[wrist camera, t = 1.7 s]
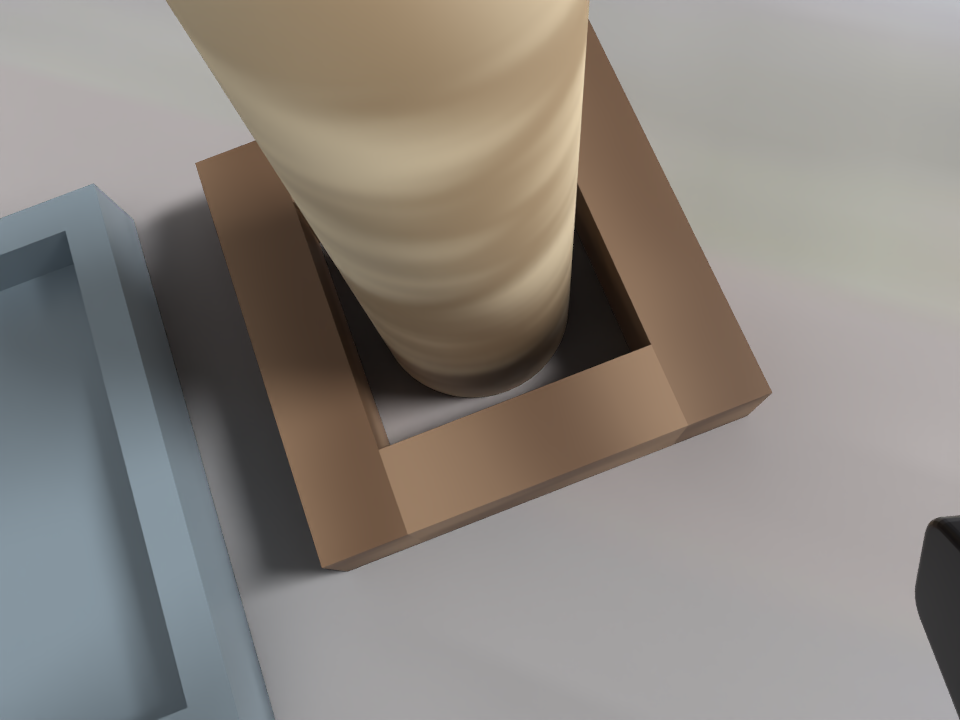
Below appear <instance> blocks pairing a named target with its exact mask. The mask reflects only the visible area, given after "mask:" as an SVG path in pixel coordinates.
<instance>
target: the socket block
mask: <svg viewBox="0 0 960 720" xmlns="http://www.w3.org/2000/svg"><path fill="white" fill-rule="evenodd" d="M195 164H196V167H197V170H198V174H199V177H200V180H201V183H202V186H203V190H204V193H205V196H206V199H207V202H208V206H209V209H210V212H211V215H212V218H213V222H214V225H215V228H216V231H217V234H218V238H219V241H220V244H221V247H222V250H223V254H224V257H225V260H226V263H227V266H228V270H229V273H230V276H231V279H232V282H233V285H234V289H235V292H236V295H237V298H238V301H239V305H240V308H241V311H242V314H243V317H244V321H245V324H246V327H247V330H248V333H249V337H250V340H251V343H252V346H253V349H254V353H255V356H256V359H257V362H258V365H259V369H260V372H261V375H262V378H263V381H264V385H265V388H266V391H267V394H268V397H269V400H270V404H271V407H272V410H273V413H274V416H275V420H276V423H277V426H278V429H279V432H280V436H281V439H282V442H283V445H284V448H285V452H286V455H287V458H288V461H289V464H290V468H291V471H292V474H293V477H294V480H295V484H296V487H297V490H298V493H299V496H300V500H301V503H302V506H303V509H304V512H305V516H306V519H307V522H308V525H309V528H310V531H311V535H312V538H313V541H314V544H315V547H316V551H317V554H318V557H319V560H320V563H321V567H322V568H325V569H333V570H340V571H350V570H353V569H355V568H358V567H361V566H363V565H366V564H368V563H371V562H373V561H376V560H379V559H381V558H384V557H386V556H389V555H391V554H394V553H396V552H399V551H402V550H404V549H407V548H409V547H412V546H414V545H417V544H420V543H422V542H425V541H427V540H430V539H432V538H435V537H438V536H440V535H443V534H445V533H448V532H450V531H453V530H455V529H458V528H461V527H463V526H466V525H468V524H471V523H473V522H476V521H479V520H481V519H484V518H486V517H489V516H491V515H494V514H497V513H499V512H502V511H504V510H507V509H509V508H512V507H514V506H517V505H520V504H522V503H525V502H527V501H530V500H532V499H535V498H538V497H540V496H543V495H545V494H548V493H550V492H553V491H556V490H558V489H561V488H563V487H566V486H568V485H571V484H573V483H576V482H579V481H581V480H584V479H586V478H589V477H591V476H594V475H597V474H599V473H602V472H604V471H607V470H609V469H612V468H615V467H617V466H620V465H622V464H625V463H627V462H630V461H632V460H635V459H638V458H640V457H643V456H645V455H648V454H650V453H653V452H656V451H658V450H661V449H663V448H666V447H668V446H671V445H673V444H676V443H679V442H681V441H684V440H686V439H689V438H691V437H694V436H697V435H699V434H702V433H704V432H707V431H709V430H712V429H715V428H717V427H720V426H722V425H725V424H727V423H730V422H732V421H735V420H738V419H740V418H743V417H745V416H747V415H749V414H750V413H751V412H752V411H753V410H754V409H755V408H756V407H757V406H758V405H759V404H761V403H762V402H763V401H764V400H765V399H766V398H767V397H768V396H769V395H770V394H771V393H772V391H771V389H770V387H769V385H768V383H767V381H766V379H765V377H764V375H763V373H762V371H761V369H760V367H759V365H758V363H757V361H756V359H755V357H754V355H753V353H752V351H751V349H750V346H749V344H748V342H747V340H746V338H745V336H744V334H743V332H742V330H741V328H740V326H739V324H738V322H737V320H736V318H735V316H734V314H733V312H732V310H731V308H730V306H729V304H728V302H727V300H726V298H725V296H724V294H723V292H722V290H721V288H720V286H719V283H718V281H717V279H716V277H715V275H714V273H713V271H712V269H711V267H710V265H709V263H708V261H707V259H706V257H705V255H704V253H703V251H702V249H701V247H700V245H699V243H698V241H697V239H696V237H695V235H694V233H693V231H692V229H691V227H690V225H689V223H688V220H687V218H686V216H685V214H684V212H683V210H682V208H681V206H680V204H679V202H678V200H677V198H676V196H675V194H674V192H673V190H672V188H671V186H670V184H669V182H668V180H667V178H666V176H665V174H664V172H663V170H662V168H661V166H660V164H659V162H658V160H657V157H656V155H655V153H654V151H653V149H652V147H651V145H650V143H649V141H648V139H647V137H646V135H645V133H644V131H643V129H642V127H641V125H640V123H639V121H638V119H637V117H636V115H635V113H634V111H633V109H632V107H631V105H630V103H629V101H628V99H627V97H626V94H625V92H624V90H623V88H622V86H621V84H620V82H619V80H618V78H617V76H616V74H615V72H614V70H613V68H612V66H611V64H610V62H609V60H608V58H607V56H606V54H605V52H604V50H603V48H602V46H601V44H600V42H599V40H598V38H597V36H596V34H595V32H594V29H593V27H592V25H591V23H590V21H589V19H588V28H587V43H586V58H585V73H584V87H583V102H582V117H581V132H580V147H579V162H578V177H577V192H576V207H575V222H574V226H575V228H576V231H577V233H578V235H579V237H580V240H581V242H582V244H583V246H584V248H585V251H586V253H587V255H588V257H589V260H590V262H591V264H592V266H593V269H594V271H595V273H596V275H597V277H598V280H599V282H600V284H601V286H602V289H603V291H604V293H605V295H606V298H607V300H608V302H609V304H610V306H611V309H612V311H613V313H614V315H615V318H616V320H617V322H618V324H619V326H620V329H621V331H622V333H623V335H624V338H625V340H626V342H627V344H628V347H629V349H630V351H631V353H628V354H626V355H623V356H620V357H618V358H615V359H613V360H610V361H607V362H605V363H602V364H600V365H597V366H595V367H592V368H589V369H587V370H584V371H582V372H579V373H576V374H574V375H571V376H569V377H566V378H563V379H561V380H558V381H556V382H553V383H551V384H548V385H545V386H543V387H540V388H538V389H535V390H532V391H530V392H527V393H525V394H522V395H520V396H517V397H514V398H512V399H509V400H507V401H504V402H501V403H499V404H496V405H494V406H491V407H488V408H486V409H483V410H481V411H478V412H476V413H473V414H470V415H468V416H465V417H463V418H460V419H457V420H455V421H452V422H450V423H447V424H444V425H442V426H439V427H437V428H434V429H432V430H429V431H426V432H424V433H421V434H419V435H416V436H413V437H411V438H408V439H406V440H403V441H401V442H398V443H395V444H393V445H390V444H389V441H388V438H387V435H386V432H385V429H384V426H383V424H382V421H381V418H380V415H379V412H378V409H377V406H376V404H375V401H374V398H373V395H372V392H371V389H370V386H369V384H368V381H367V378H366V375H365V372H364V369H363V366H362V364H361V361H360V358H359V355H358V352H357V349H356V346H355V344H354V341H353V338H352V335H351V332H350V329H349V326H348V324H347V321H346V318H345V315H344V312H343V309H342V306H341V304H340V301H339V298H338V295H337V292H336V289H335V286H334V284H333V281H332V278H331V275H330V272H329V269H328V266H327V264H326V261H325V258H324V255H323V252H322V249H321V246H320V244H319V242H320V240H319V239H318V237H317V236H316V234H315V232H314V231H313V229H312V228H311V226H310V225H309V223H308V221H307V220H306V218H305V217H304V215H303V214H302V212H301V211H300V209H299V207H298V206H297V204H296V203H295V201H294V200H293V198H292V197H291V195H290V193H289V192H288V190H287V189H286V187H285V186H284V184H283V182H282V181H281V179H280V178H279V176H278V175H277V173H276V172H275V170H274V168H273V167H272V165H271V164H270V162H269V161H268V159H267V158H266V156H265V154H264V153H263V151H262V150H261V148H260V147H259V145H258V143H257V142H256V141H253V142H250V143H248V144H245V145H242V146H240V147H237V148H234V149H232V150H229V151H226V152H224V153H221V154H218V155H216V156H213V157H210V158H208V159H205V160H202V161H200V162H197V163H195Z"/></svg>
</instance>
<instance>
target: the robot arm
mask: <svg viewBox="0 0 960 720" xmlns="http://www.w3.org/2000/svg"><path fill="white" fill-rule="evenodd" d="M915 600H916V606H917V610H918V614H919V617H920V620H921V622H922V625H923V627H924V630H925V632H926V635H927V638H928V640H929V643H930V645H931V648H932V650H933V653H934V655H935V658H936V661H937V663H938V666H939V668H940V671H941V673H942V676H943V678H944V681H945V683H946V686H947V689H948V691H949V694H950V696H951V699H952V701H953V704H954V706H955V709H956V712H957V714H958V717H959V719H960V515H959V516H947V517H938V518H936V519H934V520H932V521H931V522H930V523H929V525H928V526H927V528H926V532H925V536H924V541H923V547H922V552H921V557H920V563H919V568H918V574H917V579H916V585H915Z"/></svg>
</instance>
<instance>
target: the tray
mask: <svg viewBox="0 0 960 720" xmlns="http://www.w3.org/2000/svg"><path fill="white" fill-rule="evenodd" d="M0 720H275V718H274V714H273V711H272V707H271V704H270V700H269V697H268V693H267V689H266V686H265V682H264V679H263V675H262V672H261V668H260V665H259V661H258V658H257V654H256V651H255V647H254V644H253V640H252V636H251V633H250V629H249V626H248V622H247V619H246V615H245V612H244V608H243V605H242V601H241V598H240V594H239V591H238V587H237V583H236V580H235V576H234V573H233V569H232V566H231V562H230V559H229V555H228V552H227V548H226V545H225V541H224V538H223V534H222V530H221V527H220V523H219V520H218V516H217V513H216V509H215V506H214V502H213V499H212V495H211V492H210V488H209V485H208V481H207V477H206V474H205V470H204V467H203V463H202V460H201V456H200V453H199V449H198V446H197V442H196V439H195V435H194V432H193V428H192V424H191V421H190V417H189V414H188V410H187V407H186V403H185V400H184V396H183V393H182V389H181V386H180V382H179V379H178V375H177V371H176V368H175V364H174V361H173V357H172V354H171V350H170V347H169V343H168V340H167V336H166V333H165V329H164V326H163V322H162V318H161V315H160V311H159V308H158V304H157V301H156V297H155V294H154V290H153V287H152V283H151V280H150V276H149V273H148V269H147V265H146V262H145V258H144V255H143V251H142V248H141V244H140V241H139V237H138V234H137V230H136V227H135V223H134V220H133V219H132V218H131V217H130V216H129V215H128V214H127V213H126V212H125V211H123V210H122V209H121V208H120V207H119V206H118V205H117V204H116V203H115V202H114V201H112V200H111V199H110V198H109V197H108V196H107V195H106V194H105V193H104V192H103V191H101V190H100V189H99V188H98V187H97V186H96V185H95V184H91V185H88V186H86V187H83V188H80V189H78V190H75V191H72V192H70V193H67V194H64V195H62V196H59V197H56V198H54V199H51V200H48V201H46V202H43V203H40V204H38V205H35V206H32V207H30V208H27V209H24V210H22V211H19V212H16V213H14V214H11V215H8V216H6V217H3V218H0Z"/></svg>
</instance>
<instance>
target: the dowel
mask: <svg viewBox="0 0 960 720" xmlns="http://www.w3.org/2000/svg"><path fill="white" fill-rule="evenodd" d="M166 1H167V3H168V5H169V6H170V8H171V9H172V11H173V12H174V14H175V16H176V17H177V19H178V20H179V22H180V23H181V25H182V26H183V28H184V30H185V31H186V33H187V34H188V36H189V37H190V39H191V41H192V42H193V44H194V45H195V47H196V48H197V50H198V51H199V53H200V55H201V56H202V58H203V59H204V61H205V62H206V64H207V65H208V67H209V69H210V70H211V72H212V73H213V75H214V76H215V78H216V80H217V81H218V83H219V84H220V86H221V87H222V89H223V90H224V92H225V94H226V95H227V97H228V98H229V100H230V101H231V103H232V104H233V106H234V108H235V109H236V111H237V112H238V114H239V115H240V117H241V119H242V120H243V122H244V123H245V125H246V126H247V128H248V129H249V131H250V133H251V134H252V136H253V137H254V139H255V140H256V142H257V143H258V145H259V147H260V148H261V150H262V151H263V153H264V154H265V156H266V158H267V159H268V161H269V162H270V164H271V165H272V167H273V168H274V170H275V172H276V173H277V175H278V176H279V178H280V179H281V181H282V182H283V184H284V186H285V187H286V189H287V190H288V192H289V193H290V195H291V197H292V198H293V200H294V201H295V203H296V204H297V206H298V207H299V209H300V211H301V212H302V214H303V215H304V217H305V218H306V220H307V221H308V223H309V225H310V226H311V228H312V229H313V231H314V232H315V234H316V236H317V237H318V239H319V240H320V242H321V243H322V245H323V246H324V248H325V250H326V251H327V253H328V254H329V256H330V257H331V259H332V260H333V262H334V264H335V265H336V267H337V268H338V270H339V271H340V273H341V275H342V276H343V278H344V279H345V281H346V282H347V284H348V285H349V287H350V289H351V290H352V292H353V293H354V295H355V296H356V298H357V300H358V301H359V303H360V304H361V306H362V307H363V309H364V310H365V312H366V314H367V315H368V317H369V318H370V320H371V321H372V323H373V324H374V326H375V328H376V329H377V331H378V332H379V334H380V335H381V337H382V339H383V340H384V342H385V343H386V345H387V346H388V348H389V349H390V351H391V353H392V354H393V356H394V357H395V359H396V360H397V361H398V363H399V364H400V365H401V366H402V367H403V369H404V370H405V371H406V372H408V373H409V374H410V375H411V376H412V377H413V378H415V379H416V380H417V381H419V382H420V383H422V384H423V385H425V386H427V387H429V388H431V389H433V390H436V391H439V392H441V393H444V394H448V395H453V396H458V397H470V398H472V397H485V396H491V395H496V394H499V393H503V392H506V391H509V390H511V389H513V388H515V387H517V386H519V385H521V384H523V383H524V382H526V381H527V380H529V379H531V378H532V377H533V376H534V375H535V374H537V373H538V372H539V371H540V370H541V369H542V368H543V367H544V366H545V365H546V364H547V363H548V362H549V360H550V359H551V357H552V356H553V354H554V353H555V352H556V350H557V348H558V346H559V344H560V342H561V340H562V337H563V335H564V332H565V329H566V324H567V320H568V311H569V296H570V281H571V266H572V251H573V237H574V222H575V207H576V192H577V177H578V162H579V147H580V132H581V117H582V102H583V87H584V73H585V58H586V43H587V28H588V13H589V0H166Z"/></svg>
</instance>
